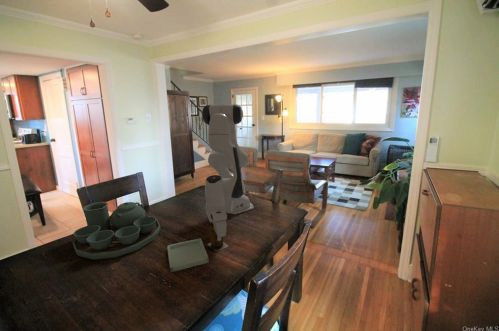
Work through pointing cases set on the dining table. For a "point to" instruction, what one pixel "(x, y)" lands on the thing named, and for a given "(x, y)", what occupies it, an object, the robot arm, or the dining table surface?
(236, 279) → the dining table surface
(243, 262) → the dining table surface
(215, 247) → the condiment
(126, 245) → the tea set
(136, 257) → the dining table surface
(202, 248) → the tray
